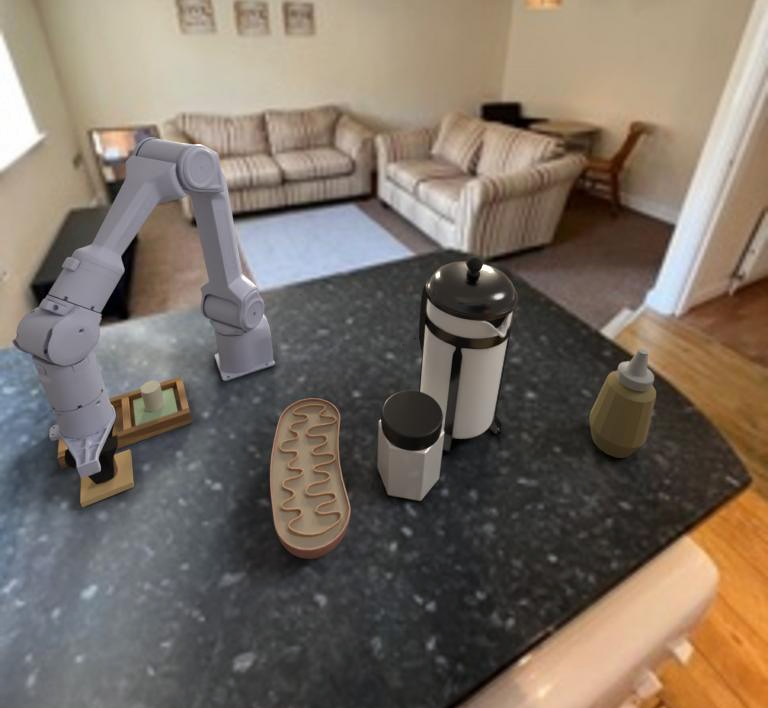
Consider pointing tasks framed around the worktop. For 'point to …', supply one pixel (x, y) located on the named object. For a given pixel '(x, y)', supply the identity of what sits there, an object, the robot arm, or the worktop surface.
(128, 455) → the sand pad
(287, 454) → the anatomical model
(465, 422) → the coffee press
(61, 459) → the divided wooden tray
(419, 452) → the jar
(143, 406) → the sage pad
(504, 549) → the worktop surface
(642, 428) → the squeeze bottle
